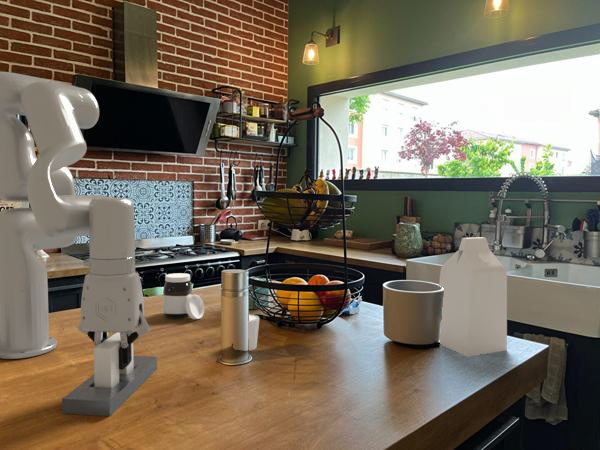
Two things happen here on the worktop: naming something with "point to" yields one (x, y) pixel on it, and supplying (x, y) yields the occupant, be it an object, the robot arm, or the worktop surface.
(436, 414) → the worktop surface
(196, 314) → the spread jar
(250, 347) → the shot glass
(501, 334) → the milk
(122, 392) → the grey slotted base
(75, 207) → the robot arm
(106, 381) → the clip
